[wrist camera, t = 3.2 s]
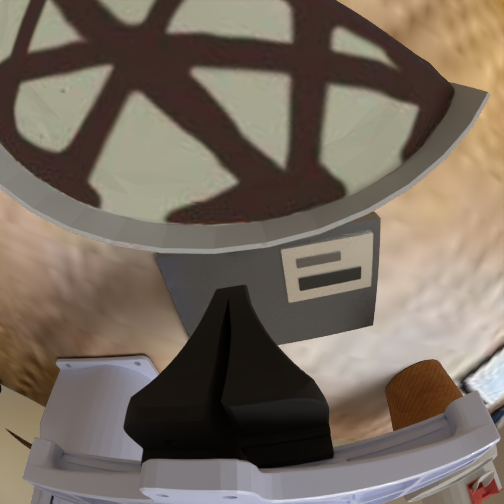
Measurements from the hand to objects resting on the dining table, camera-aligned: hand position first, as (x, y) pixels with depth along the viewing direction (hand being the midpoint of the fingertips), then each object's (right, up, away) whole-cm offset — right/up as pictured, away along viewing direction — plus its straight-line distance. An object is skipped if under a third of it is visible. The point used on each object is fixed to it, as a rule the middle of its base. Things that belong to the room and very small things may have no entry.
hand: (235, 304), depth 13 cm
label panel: (+2, 0, +5) cm, 5 cm away
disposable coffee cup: (+17, -10, +12) cm, 23 cm away
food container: (-2, +10, -1) cm, 10 cm away
